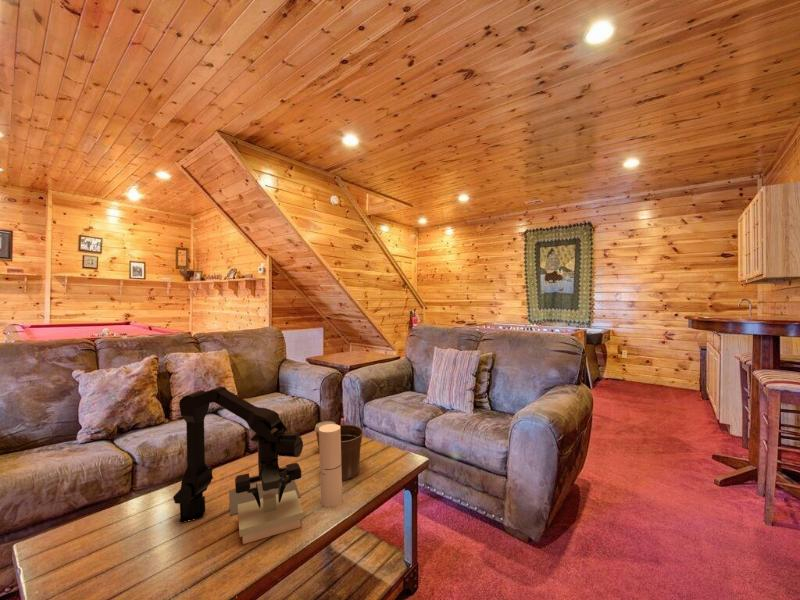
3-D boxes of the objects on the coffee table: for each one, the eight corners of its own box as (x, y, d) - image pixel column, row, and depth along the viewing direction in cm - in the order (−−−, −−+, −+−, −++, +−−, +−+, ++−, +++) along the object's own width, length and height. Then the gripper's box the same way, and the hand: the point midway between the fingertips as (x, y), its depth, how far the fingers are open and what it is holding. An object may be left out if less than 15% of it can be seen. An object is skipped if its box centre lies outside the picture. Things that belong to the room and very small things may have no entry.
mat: (230, 515, 117) (230, 514, 117) (229, 491, 131) (229, 490, 131) (300, 497, 126) (300, 496, 126) (292, 476, 140) (292, 475, 140)
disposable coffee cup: (339, 447, 166) (339, 420, 165) (334, 456, 156) (333, 429, 156) (319, 446, 167) (318, 420, 166) (312, 456, 157) (311, 428, 157)
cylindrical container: (337, 508, 119) (335, 432, 119) (317, 506, 121) (315, 431, 120) (345, 496, 126) (343, 424, 126) (325, 494, 128) (324, 423, 127)
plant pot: (361, 484, 134) (360, 441, 133) (317, 484, 134) (316, 441, 133) (366, 463, 150) (365, 424, 149) (327, 463, 150) (326, 424, 150)
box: (242, 544, 103) (242, 530, 103) (241, 520, 114) (240, 507, 114) (300, 527, 110) (300, 514, 110) (293, 506, 121) (293, 494, 121)
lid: (239, 537, 102) (238, 516, 102) (237, 510, 115) (237, 492, 114) (303, 518, 110) (302, 499, 110) (295, 495, 122) (294, 478, 122)
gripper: (235, 473, 100) (237, 529, 101) (304, 458, 108) (305, 510, 109) (234, 456, 110) (235, 507, 111) (297, 444, 118) (298, 491, 119)
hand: (269, 504), depth 112 cm, fingers open, 5 cm apart
